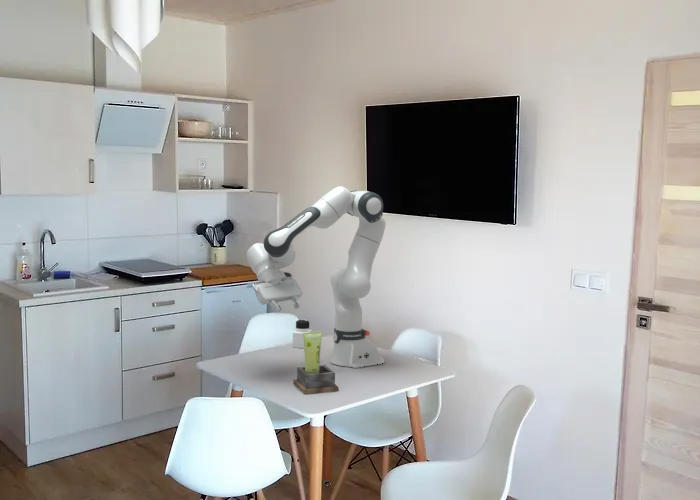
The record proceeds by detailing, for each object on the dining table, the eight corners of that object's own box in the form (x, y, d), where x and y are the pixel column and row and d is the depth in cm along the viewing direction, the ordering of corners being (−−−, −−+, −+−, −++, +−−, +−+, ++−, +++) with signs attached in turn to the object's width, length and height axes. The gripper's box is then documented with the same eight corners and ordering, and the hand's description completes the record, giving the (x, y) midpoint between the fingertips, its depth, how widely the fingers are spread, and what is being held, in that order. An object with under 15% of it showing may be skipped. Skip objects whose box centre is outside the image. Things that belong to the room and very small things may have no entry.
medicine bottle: (307, 349, 304) (308, 322, 303) (292, 347, 305) (292, 321, 304) (311, 345, 311) (312, 319, 309) (296, 344, 312) (297, 318, 311)
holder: (325, 380, 258) (326, 363, 257) (338, 390, 246) (338, 373, 245) (293, 383, 253) (293, 366, 252) (304, 394, 241) (304, 376, 240)
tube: (314, 387, 244) (315, 334, 242) (301, 385, 246) (302, 332, 244) (321, 383, 250) (322, 330, 247) (308, 381, 252) (310, 329, 249)
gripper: (254, 277, 252) (271, 307, 247) (294, 273, 268) (311, 301, 262) (246, 288, 256) (263, 317, 250) (287, 282, 271) (303, 310, 266)
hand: (288, 309), depth 256 cm, fingers open, 8 cm apart
